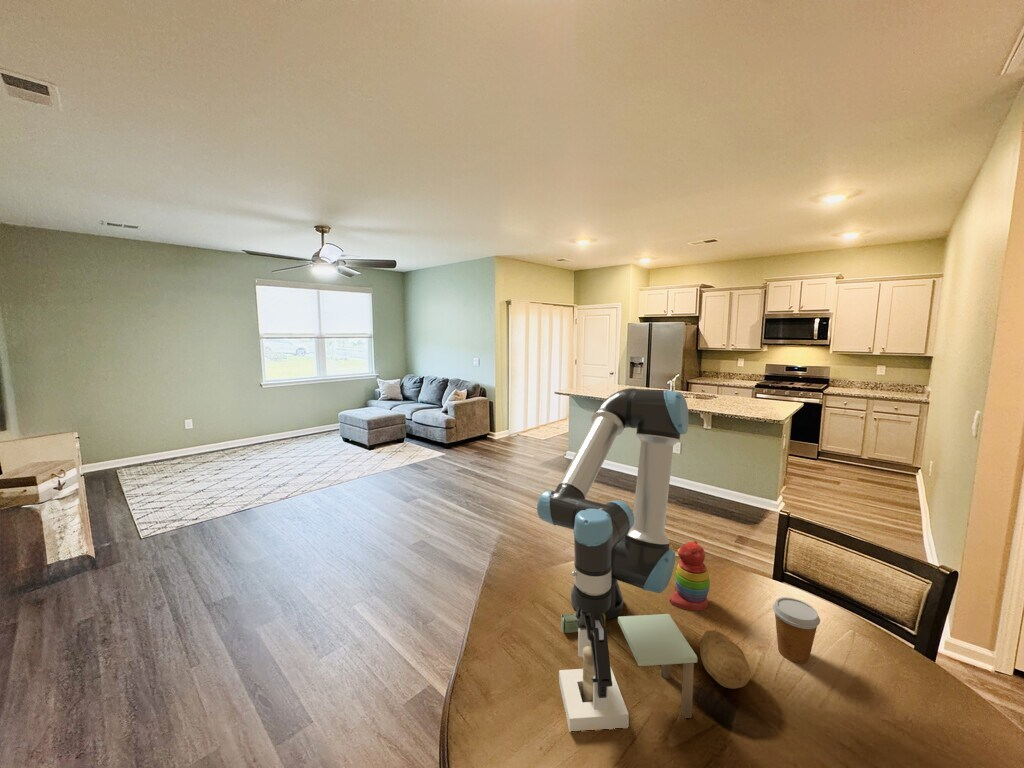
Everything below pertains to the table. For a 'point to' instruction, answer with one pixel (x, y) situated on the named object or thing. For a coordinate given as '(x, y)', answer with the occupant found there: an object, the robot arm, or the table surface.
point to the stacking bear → (691, 578)
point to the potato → (724, 660)
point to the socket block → (591, 704)
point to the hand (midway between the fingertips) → (591, 679)
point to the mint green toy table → (661, 649)
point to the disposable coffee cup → (795, 628)
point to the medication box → (571, 622)
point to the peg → (588, 674)
